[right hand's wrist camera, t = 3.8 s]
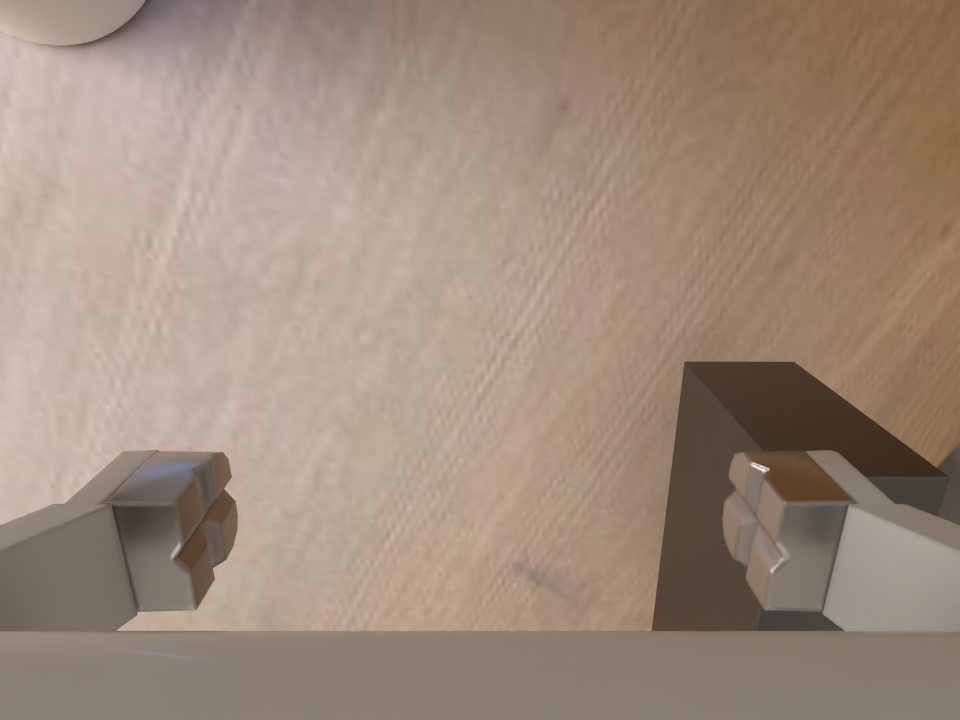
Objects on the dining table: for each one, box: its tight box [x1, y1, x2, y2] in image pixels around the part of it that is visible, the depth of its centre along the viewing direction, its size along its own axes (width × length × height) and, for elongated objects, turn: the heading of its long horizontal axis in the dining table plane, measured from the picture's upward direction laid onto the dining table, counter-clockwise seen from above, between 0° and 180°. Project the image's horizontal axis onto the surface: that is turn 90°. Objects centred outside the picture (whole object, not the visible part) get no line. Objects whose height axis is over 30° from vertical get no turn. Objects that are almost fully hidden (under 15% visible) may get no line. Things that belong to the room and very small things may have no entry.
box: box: [652, 362, 949, 631], centre depth 34 cm, size 26×6×12 cm, turn 0°
